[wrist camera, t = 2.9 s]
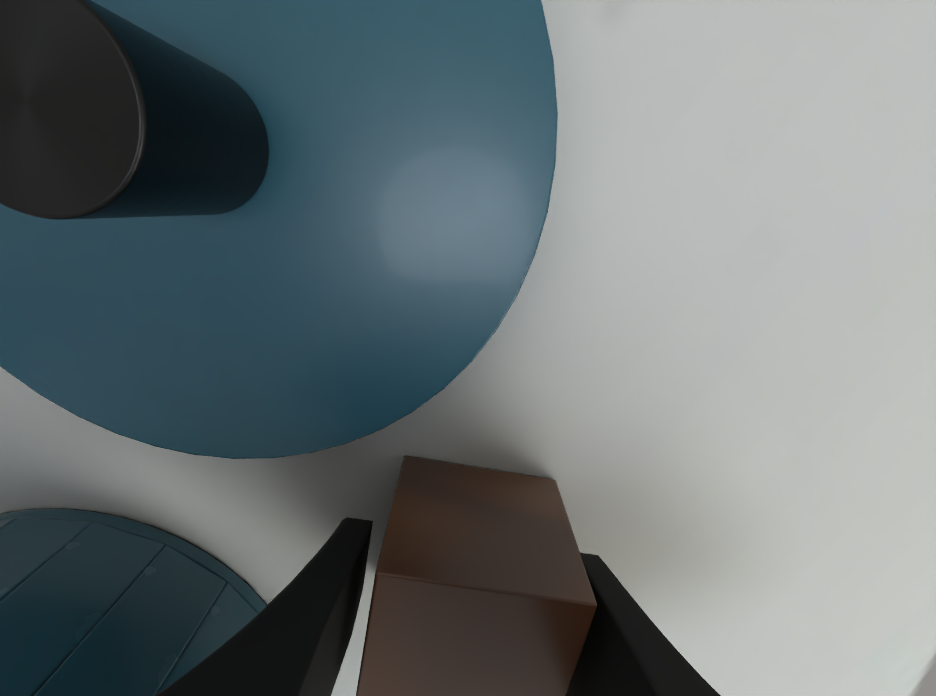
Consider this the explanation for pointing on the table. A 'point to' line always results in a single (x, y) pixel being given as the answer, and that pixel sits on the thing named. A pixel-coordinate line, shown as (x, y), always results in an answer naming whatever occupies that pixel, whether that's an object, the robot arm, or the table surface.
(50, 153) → the lid
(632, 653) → the robot arm
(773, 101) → the table surface
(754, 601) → the table surface
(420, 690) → the block
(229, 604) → the pot
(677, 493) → the table surface
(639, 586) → the table surface
